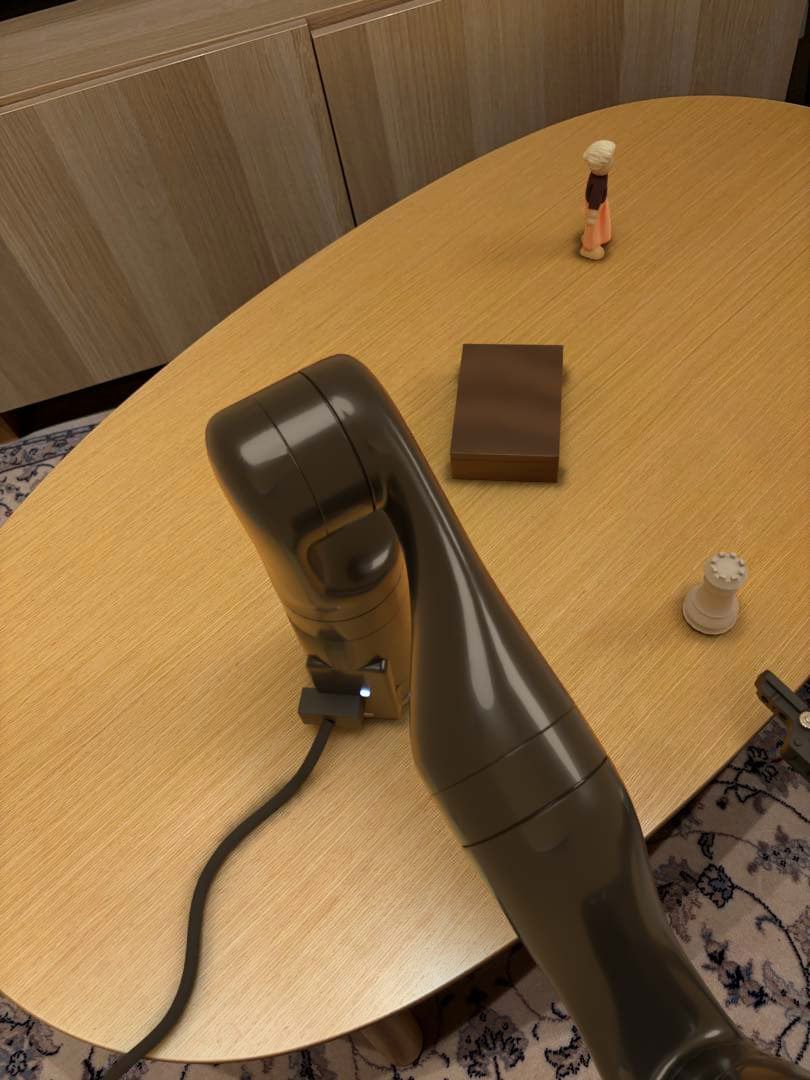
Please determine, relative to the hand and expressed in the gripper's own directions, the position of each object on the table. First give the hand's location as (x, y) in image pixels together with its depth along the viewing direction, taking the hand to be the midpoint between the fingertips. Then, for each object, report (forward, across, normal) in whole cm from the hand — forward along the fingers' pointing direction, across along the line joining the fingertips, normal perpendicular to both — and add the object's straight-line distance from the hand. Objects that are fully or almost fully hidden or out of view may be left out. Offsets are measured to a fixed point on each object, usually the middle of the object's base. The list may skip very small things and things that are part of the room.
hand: (801, 643), depth 64 cm
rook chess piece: (+8, 0, -7) cm, 10 cm away
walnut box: (+34, 0, -6) cm, 35 cm away
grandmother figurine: (+49, +24, -7) cm, 55 cm away
